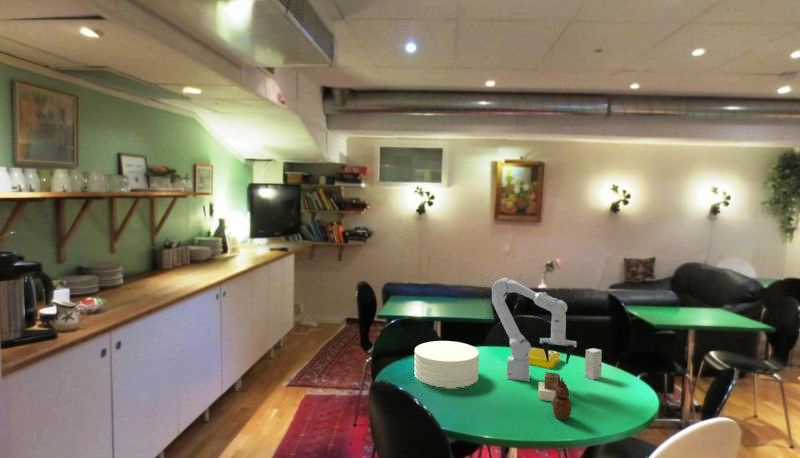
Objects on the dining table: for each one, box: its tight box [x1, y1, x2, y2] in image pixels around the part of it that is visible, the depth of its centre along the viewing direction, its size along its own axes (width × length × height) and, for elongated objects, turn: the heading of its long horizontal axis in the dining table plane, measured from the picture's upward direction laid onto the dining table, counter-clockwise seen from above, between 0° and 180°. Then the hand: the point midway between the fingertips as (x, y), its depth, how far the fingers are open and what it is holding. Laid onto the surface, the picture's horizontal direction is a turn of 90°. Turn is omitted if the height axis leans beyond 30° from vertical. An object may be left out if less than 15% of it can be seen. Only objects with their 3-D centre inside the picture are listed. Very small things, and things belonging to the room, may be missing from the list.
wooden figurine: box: [551, 374, 572, 421], centre depth 168 cm, size 7×6×15 cm
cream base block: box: [538, 381, 556, 402], centre depth 187 cm, size 9×9×4 cm
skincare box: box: [584, 347, 603, 380], centre depth 207 cm, size 6×4×12 cm
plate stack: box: [413, 340, 480, 389], centre depth 207 cm, size 28×28×12 cm
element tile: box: [528, 346, 561, 370], centre depth 227 cm, size 15×15×5 cm
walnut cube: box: [544, 371, 560, 390], centre depth 186 cm, size 5×5×5 cm
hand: (557, 361), depth 198 cm, fingers open, 7 cm apart
